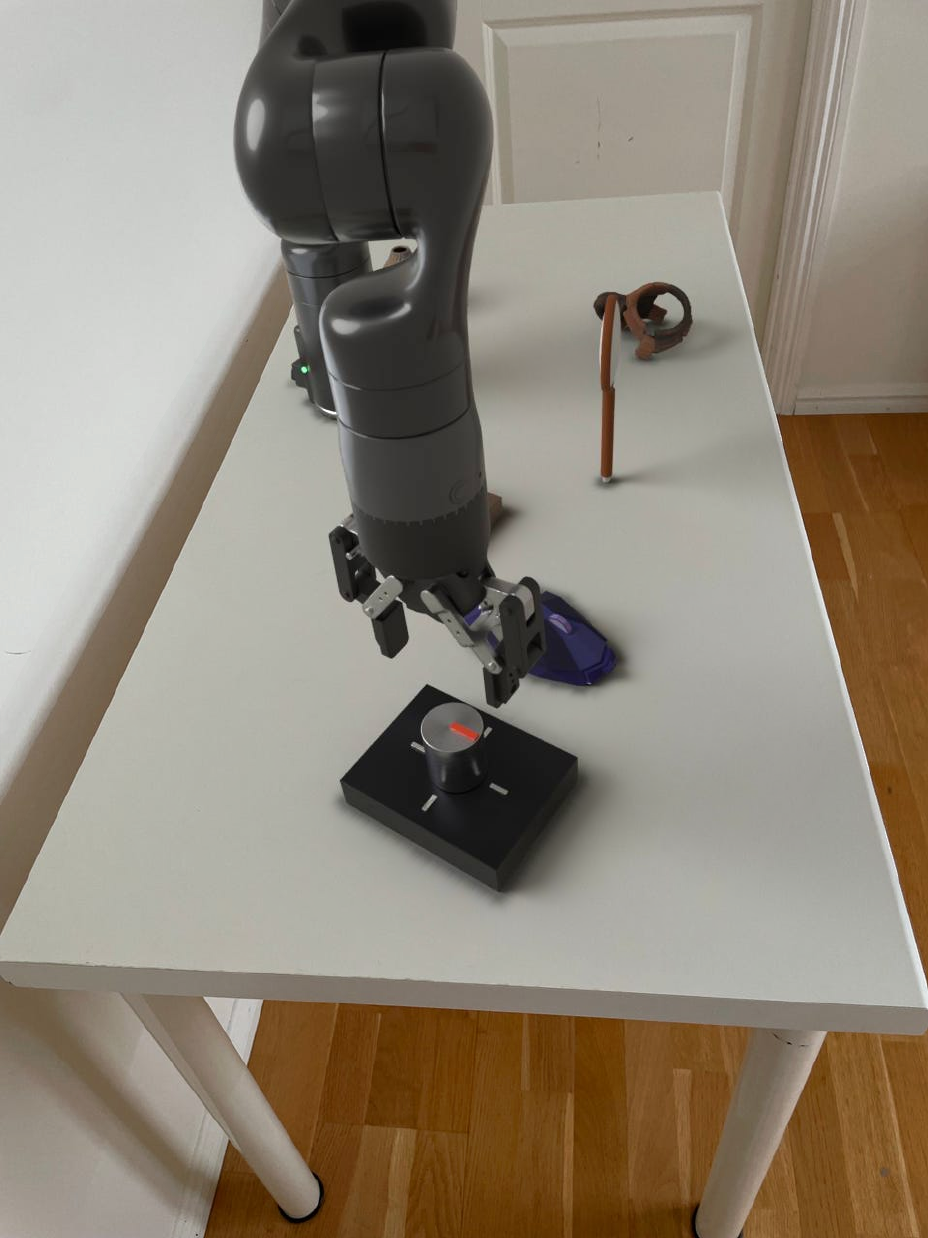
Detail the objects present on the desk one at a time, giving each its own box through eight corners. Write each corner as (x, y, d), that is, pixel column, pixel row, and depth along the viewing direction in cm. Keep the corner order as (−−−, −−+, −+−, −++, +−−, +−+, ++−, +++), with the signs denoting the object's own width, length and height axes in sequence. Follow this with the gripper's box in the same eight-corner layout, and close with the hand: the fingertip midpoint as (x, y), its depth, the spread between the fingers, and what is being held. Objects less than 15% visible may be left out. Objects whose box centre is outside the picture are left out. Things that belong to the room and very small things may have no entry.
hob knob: (417, 776, 69) (407, 732, 66) (451, 735, 72) (444, 690, 68) (465, 803, 67) (459, 759, 64) (499, 760, 70) (495, 715, 66)
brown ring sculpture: (685, 322, 119) (705, 282, 111) (670, 386, 117) (690, 351, 109) (593, 297, 119) (607, 256, 111) (577, 361, 117) (589, 324, 109)
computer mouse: (509, 574, 88) (507, 542, 85) (646, 641, 81) (648, 608, 78) (446, 633, 84) (441, 601, 81) (584, 709, 76) (585, 677, 73)
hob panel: (346, 803, 72) (338, 779, 70) (430, 706, 78) (426, 682, 76) (498, 892, 66) (496, 869, 63) (578, 780, 71) (578, 755, 69)
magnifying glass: (610, 508, 94) (616, 323, 80) (592, 507, 94) (595, 323, 80) (618, 457, 100) (625, 277, 85) (602, 456, 100) (606, 276, 86)
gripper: (566, 472, 49) (569, 676, 61) (358, 405, 56) (396, 601, 67) (486, 555, 45) (506, 757, 57) (272, 472, 52) (328, 669, 63)
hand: (446, 672), depth 62 cm, fingers open, 8 cm apart
